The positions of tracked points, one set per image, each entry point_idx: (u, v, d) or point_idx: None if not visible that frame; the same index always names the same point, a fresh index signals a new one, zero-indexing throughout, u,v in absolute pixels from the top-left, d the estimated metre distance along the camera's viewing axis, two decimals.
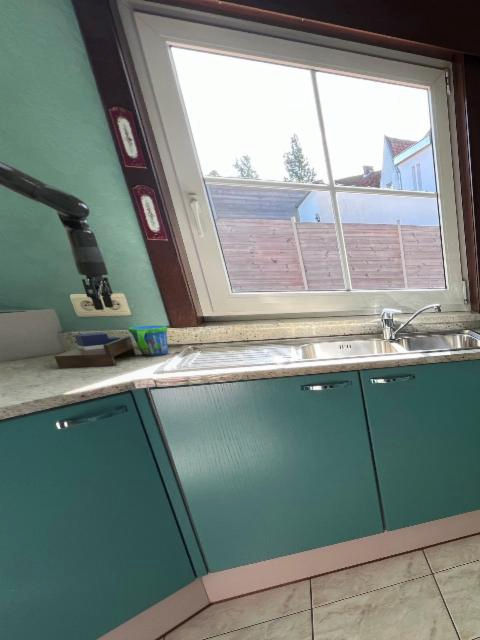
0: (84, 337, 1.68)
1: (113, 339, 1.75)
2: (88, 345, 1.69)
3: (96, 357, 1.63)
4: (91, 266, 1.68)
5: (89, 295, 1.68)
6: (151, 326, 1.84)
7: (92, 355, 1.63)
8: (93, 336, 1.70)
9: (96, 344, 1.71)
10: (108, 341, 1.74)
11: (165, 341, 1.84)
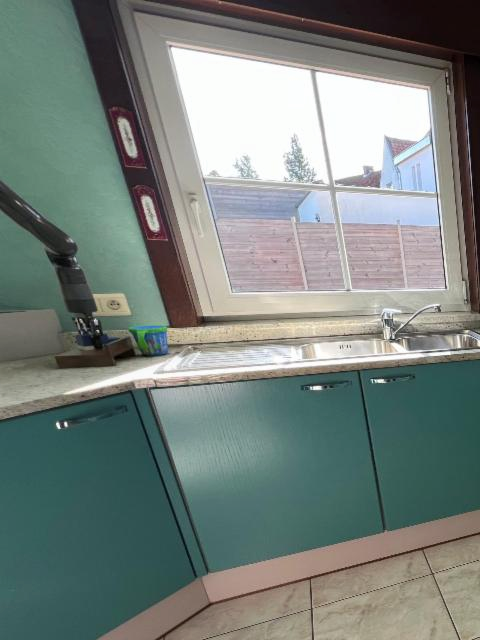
0: (84, 337, 1.68)
1: (113, 339, 1.75)
2: (88, 345, 1.69)
3: (96, 357, 1.63)
4: (90, 303, 1.67)
5: (96, 335, 1.68)
6: (151, 326, 1.84)
7: (92, 355, 1.63)
8: None
9: None
10: (108, 341, 1.74)
11: (165, 341, 1.84)
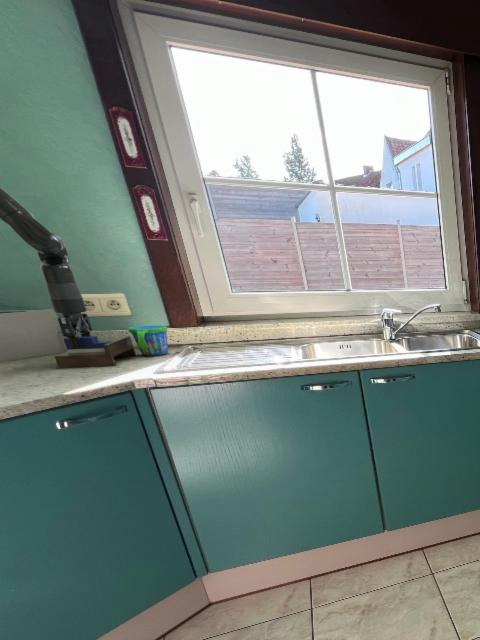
0: (67, 340, 1.62)
1: (98, 344, 1.66)
2: (71, 348, 1.63)
3: (96, 357, 1.63)
4: (68, 304, 1.58)
5: (66, 334, 1.58)
6: (151, 326, 1.84)
7: (92, 355, 1.63)
8: None
9: None
10: (92, 345, 1.65)
11: (165, 341, 1.84)
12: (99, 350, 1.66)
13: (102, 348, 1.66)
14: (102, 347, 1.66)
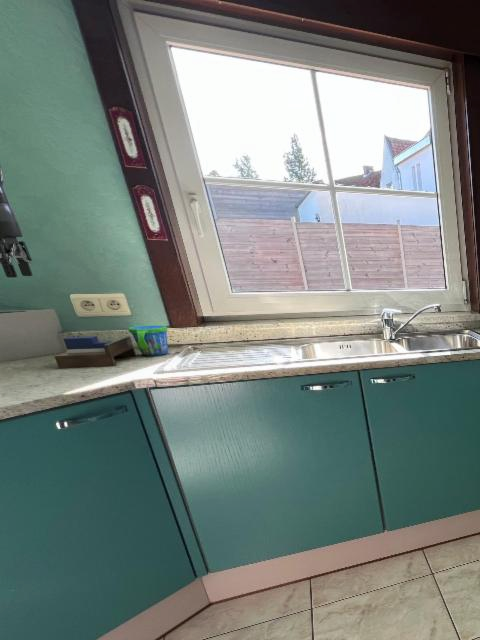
0: (67, 340, 1.62)
1: (98, 344, 1.66)
2: (71, 348, 1.63)
3: (96, 357, 1.63)
4: (0, 226, 1.45)
5: None
6: (151, 326, 1.84)
7: (92, 355, 1.63)
8: (76, 339, 1.63)
9: (79, 348, 1.64)
10: (92, 345, 1.65)
11: (165, 341, 1.84)
12: (99, 350, 1.66)
13: (102, 348, 1.66)
14: (102, 347, 1.66)
